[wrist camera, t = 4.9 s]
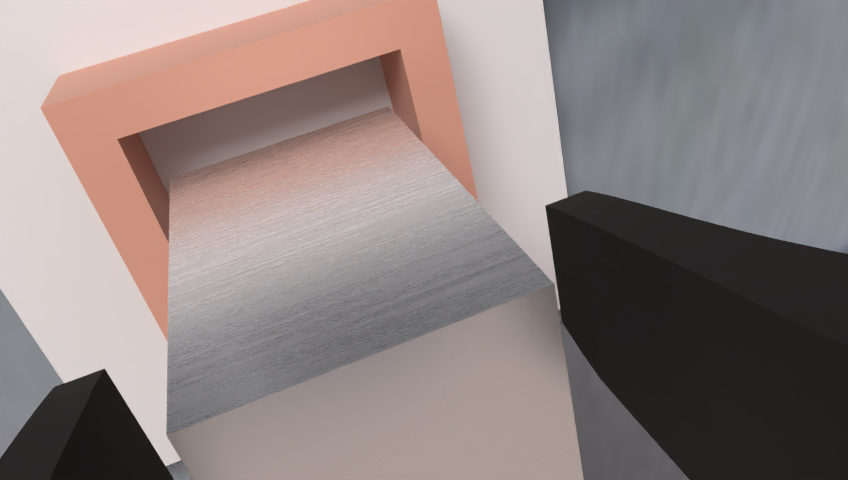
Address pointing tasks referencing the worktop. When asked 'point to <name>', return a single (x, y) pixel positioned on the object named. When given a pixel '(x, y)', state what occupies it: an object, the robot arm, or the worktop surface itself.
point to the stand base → (234, 140)
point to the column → (358, 321)
